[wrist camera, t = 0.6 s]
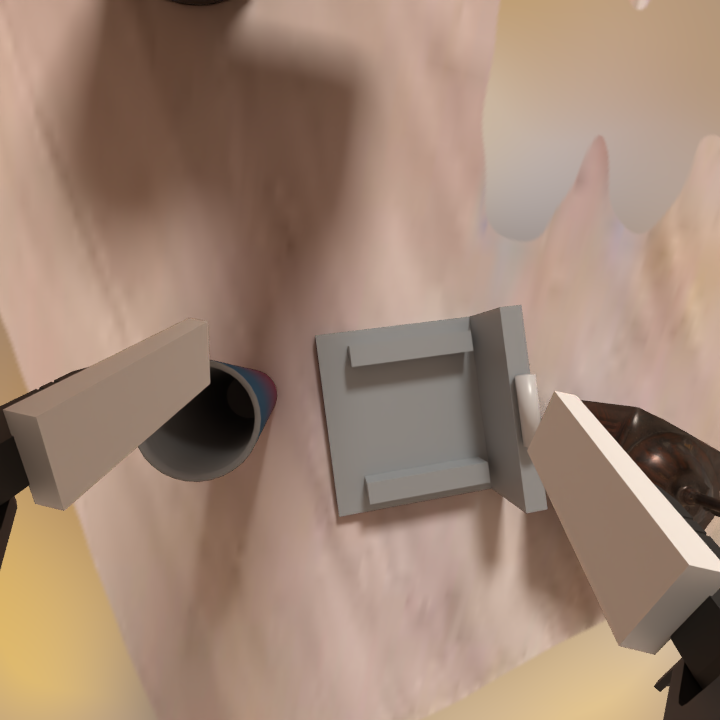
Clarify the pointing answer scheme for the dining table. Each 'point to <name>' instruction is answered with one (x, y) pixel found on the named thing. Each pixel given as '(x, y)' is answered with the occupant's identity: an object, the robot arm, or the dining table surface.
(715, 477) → the manual coffee grinder
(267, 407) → the cup
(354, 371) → the dock
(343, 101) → the dining table surface
